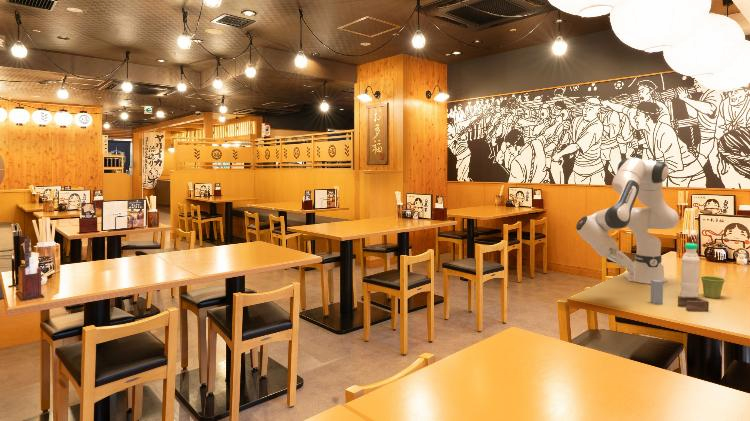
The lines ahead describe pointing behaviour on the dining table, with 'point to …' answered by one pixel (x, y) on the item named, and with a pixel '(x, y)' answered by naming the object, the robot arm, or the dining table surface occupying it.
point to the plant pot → (712, 286)
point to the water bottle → (690, 272)
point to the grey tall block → (656, 292)
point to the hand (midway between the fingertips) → (628, 268)
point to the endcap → (693, 303)
